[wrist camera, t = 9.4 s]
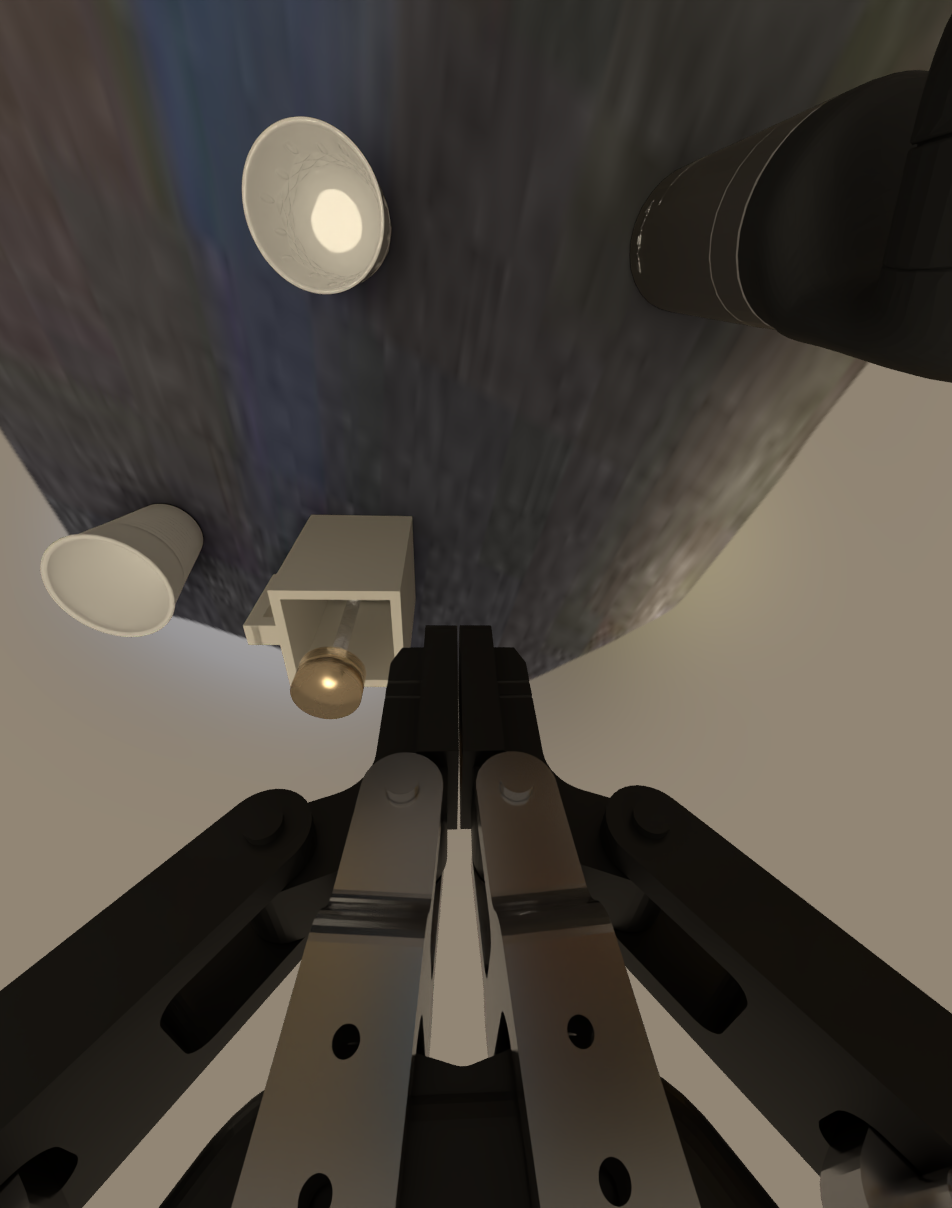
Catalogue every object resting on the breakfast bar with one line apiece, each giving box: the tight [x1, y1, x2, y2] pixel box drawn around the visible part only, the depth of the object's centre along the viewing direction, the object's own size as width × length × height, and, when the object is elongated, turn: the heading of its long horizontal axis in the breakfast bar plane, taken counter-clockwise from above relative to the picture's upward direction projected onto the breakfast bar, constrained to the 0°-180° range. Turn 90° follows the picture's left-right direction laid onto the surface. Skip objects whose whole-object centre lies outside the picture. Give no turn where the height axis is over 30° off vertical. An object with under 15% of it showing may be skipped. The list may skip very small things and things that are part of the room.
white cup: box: [242, 117, 392, 294], centre depth 32 cm, size 8×8×10 cm
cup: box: [40, 504, 203, 637], centre depth 44 cm, size 10×10×11 cm
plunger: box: [290, 600, 390, 719], centre depth 43 cm, size 8×8×19 cm
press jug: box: [243, 515, 416, 687], centre depth 46 cm, size 13×10×14 cm
